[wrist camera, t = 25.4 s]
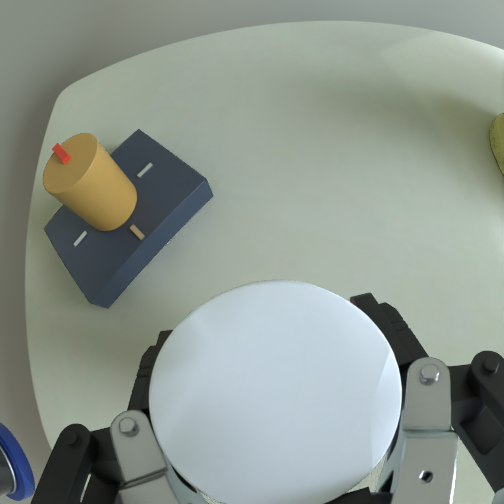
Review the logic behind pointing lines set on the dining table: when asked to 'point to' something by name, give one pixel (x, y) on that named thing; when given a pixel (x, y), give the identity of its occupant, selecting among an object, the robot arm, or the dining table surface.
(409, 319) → the dining table surface
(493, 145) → the figurine
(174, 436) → the pill bottle
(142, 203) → the dial base block
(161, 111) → the dining table surface
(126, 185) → the tan cylinder
